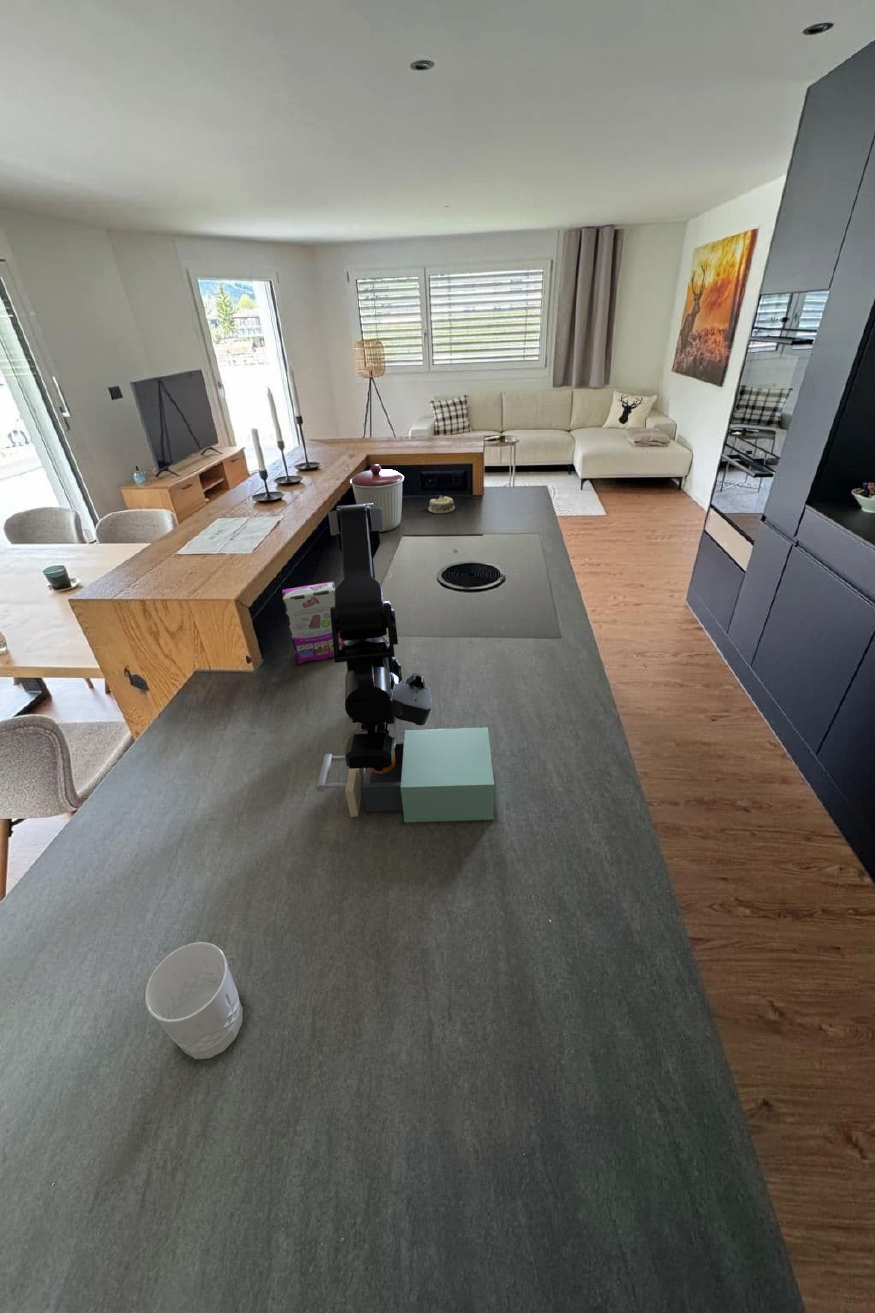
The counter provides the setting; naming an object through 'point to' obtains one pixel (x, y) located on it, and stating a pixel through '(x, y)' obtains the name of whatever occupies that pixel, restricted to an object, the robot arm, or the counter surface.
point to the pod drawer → (368, 785)
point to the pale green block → (447, 775)
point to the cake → (441, 505)
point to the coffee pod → (386, 768)
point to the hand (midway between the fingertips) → (380, 759)
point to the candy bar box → (311, 621)
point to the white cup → (196, 1000)
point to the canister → (380, 493)
